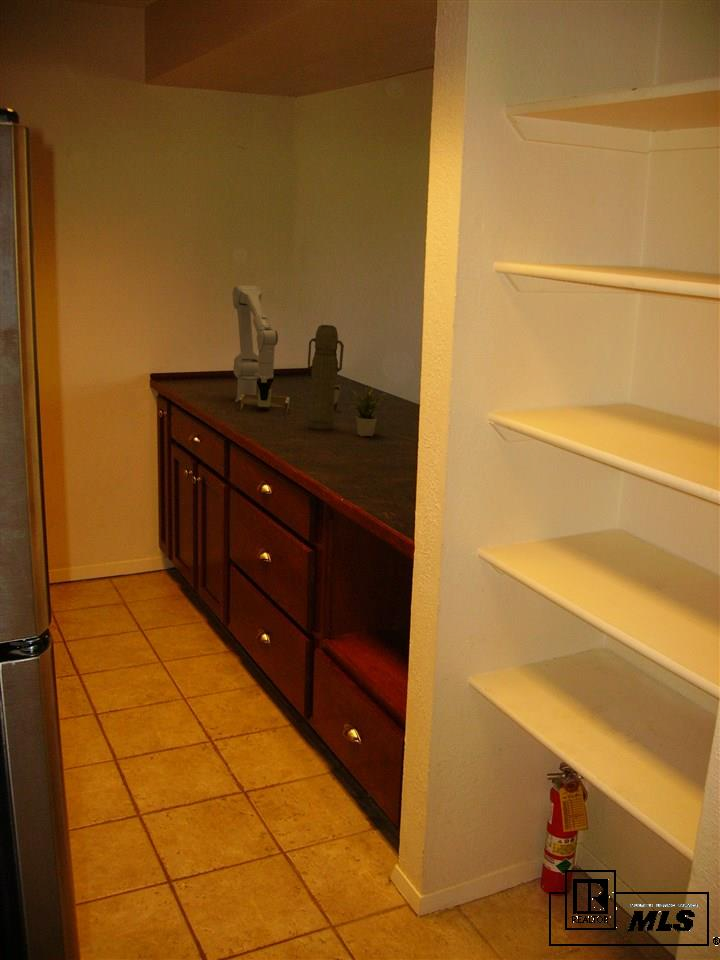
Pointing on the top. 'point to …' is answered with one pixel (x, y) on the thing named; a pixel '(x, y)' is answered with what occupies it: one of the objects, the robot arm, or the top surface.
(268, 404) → the sage block
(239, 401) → the open crate
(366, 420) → the house plant
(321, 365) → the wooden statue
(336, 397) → the food container
